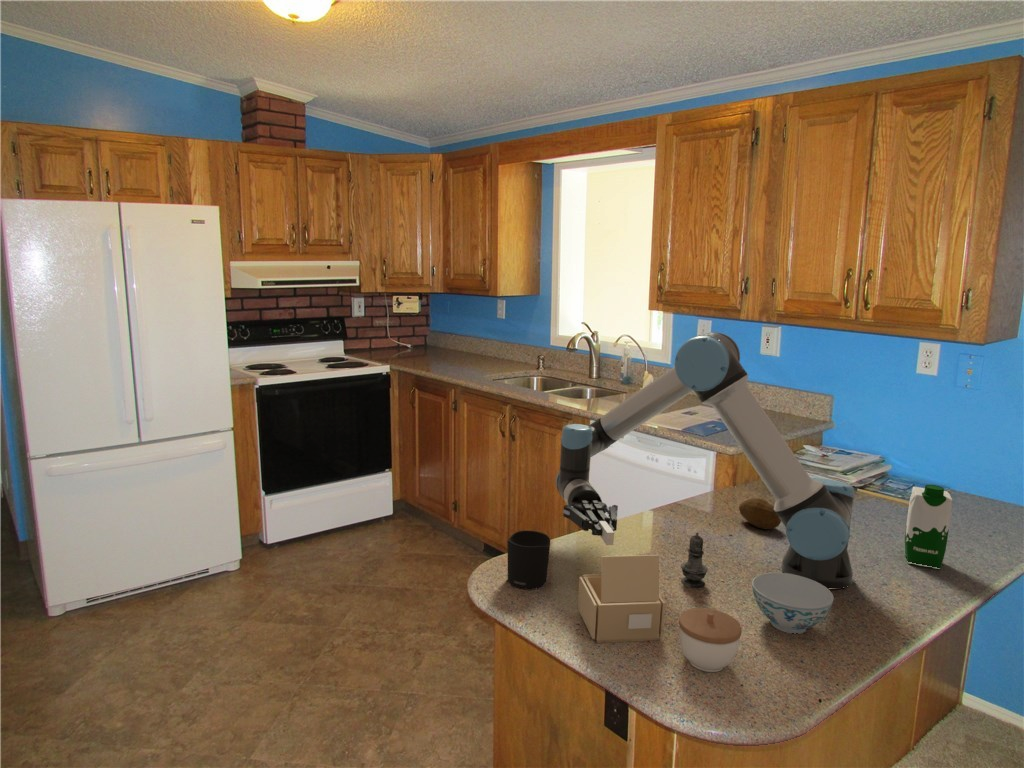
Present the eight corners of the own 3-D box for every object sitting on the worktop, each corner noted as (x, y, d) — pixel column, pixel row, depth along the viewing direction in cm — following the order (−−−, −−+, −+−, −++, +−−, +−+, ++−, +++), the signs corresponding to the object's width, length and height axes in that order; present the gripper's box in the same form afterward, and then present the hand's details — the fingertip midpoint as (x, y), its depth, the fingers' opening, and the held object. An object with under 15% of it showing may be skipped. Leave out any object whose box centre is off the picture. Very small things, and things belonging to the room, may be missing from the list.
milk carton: (903, 564, 167) (914, 486, 164) (900, 551, 175) (910, 477, 172) (945, 572, 164) (957, 492, 160) (940, 558, 172) (951, 482, 169)
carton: (640, 607, 141) (643, 573, 140) (663, 641, 128) (666, 604, 127) (576, 609, 139) (578, 574, 138) (593, 644, 126) (595, 606, 125)
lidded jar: (671, 671, 119) (675, 621, 117) (679, 641, 129) (683, 594, 127) (736, 686, 115) (741, 635, 113) (739, 654, 125) (743, 606, 123)
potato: (773, 536, 183) (776, 508, 182) (730, 523, 192) (732, 496, 190) (786, 528, 189) (788, 502, 187) (743, 516, 197) (746, 490, 196)
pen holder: (498, 576, 153) (500, 534, 151) (534, 568, 157) (536, 527, 156) (519, 594, 145) (521, 550, 143) (556, 585, 149) (558, 542, 148)
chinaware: (741, 604, 144) (744, 569, 143) (814, 610, 143) (818, 575, 141) (759, 641, 129) (762, 603, 128) (841, 648, 128) (845, 610, 127)
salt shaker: (692, 590, 149) (696, 538, 147) (674, 579, 155) (678, 529, 153) (712, 585, 152) (716, 534, 150) (693, 575, 157) (698, 525, 155)
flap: (658, 600, 128) (657, 554, 128) (659, 600, 127) (658, 555, 127) (601, 602, 126) (601, 556, 126) (601, 602, 125) (601, 556, 126)
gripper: (608, 514, 164) (639, 555, 141) (555, 514, 162) (578, 556, 139) (610, 484, 163) (642, 521, 140) (556, 484, 161) (580, 521, 138)
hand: (610, 538), depth 139 cm, fingers closed
